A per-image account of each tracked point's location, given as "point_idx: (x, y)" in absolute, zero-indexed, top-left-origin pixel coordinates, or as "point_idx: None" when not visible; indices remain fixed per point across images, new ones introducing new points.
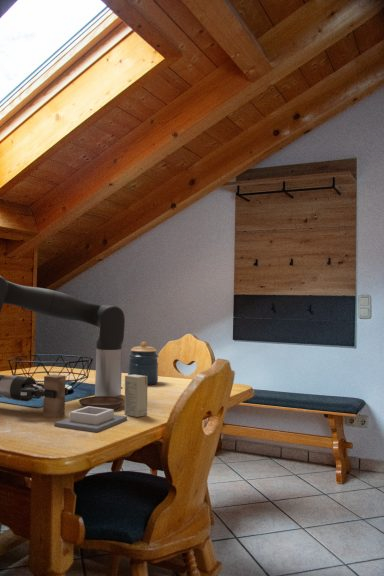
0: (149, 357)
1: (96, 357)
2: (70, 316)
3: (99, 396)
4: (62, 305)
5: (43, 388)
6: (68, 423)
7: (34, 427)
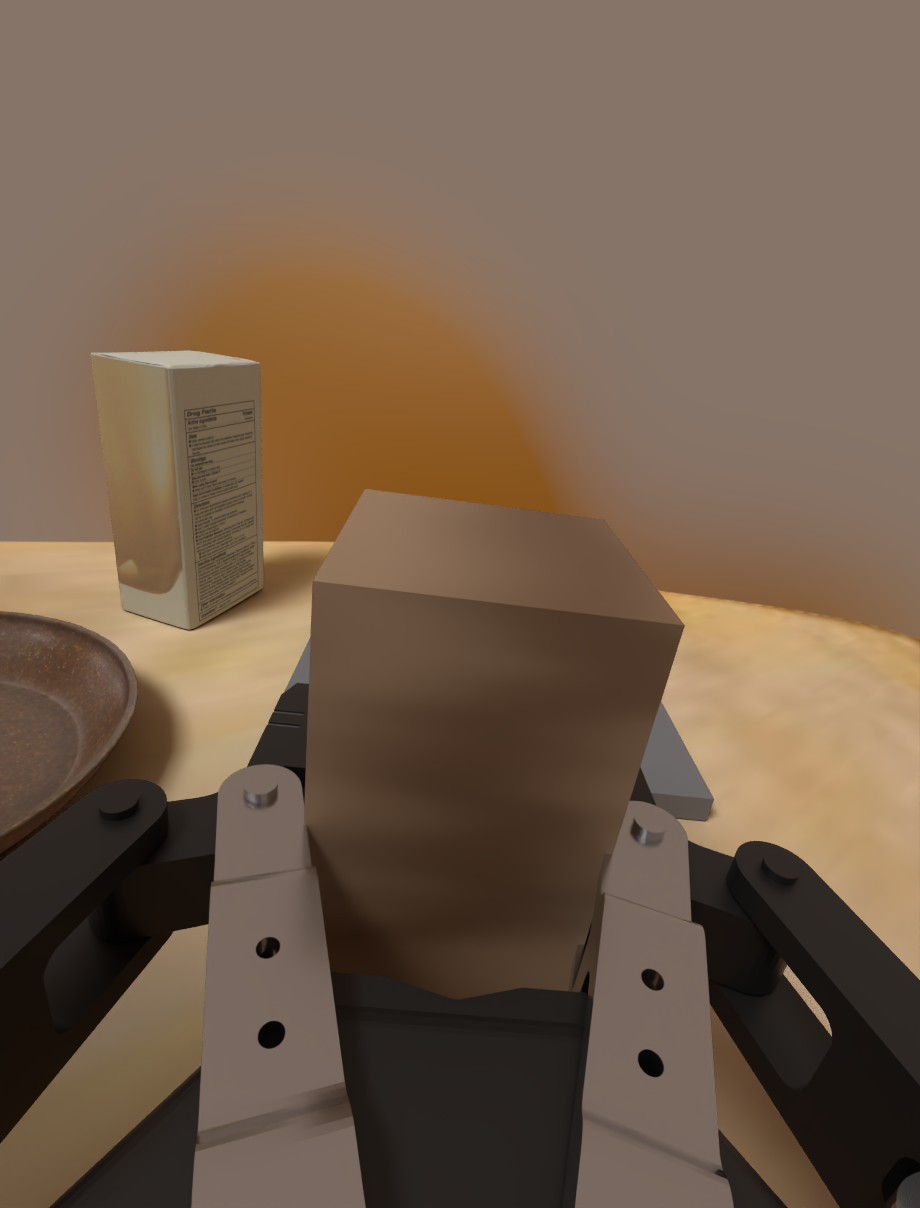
0: None
1: None
2: None
3: None
4: None
5: (434, 1008)
6: (655, 727)
7: (868, 924)
